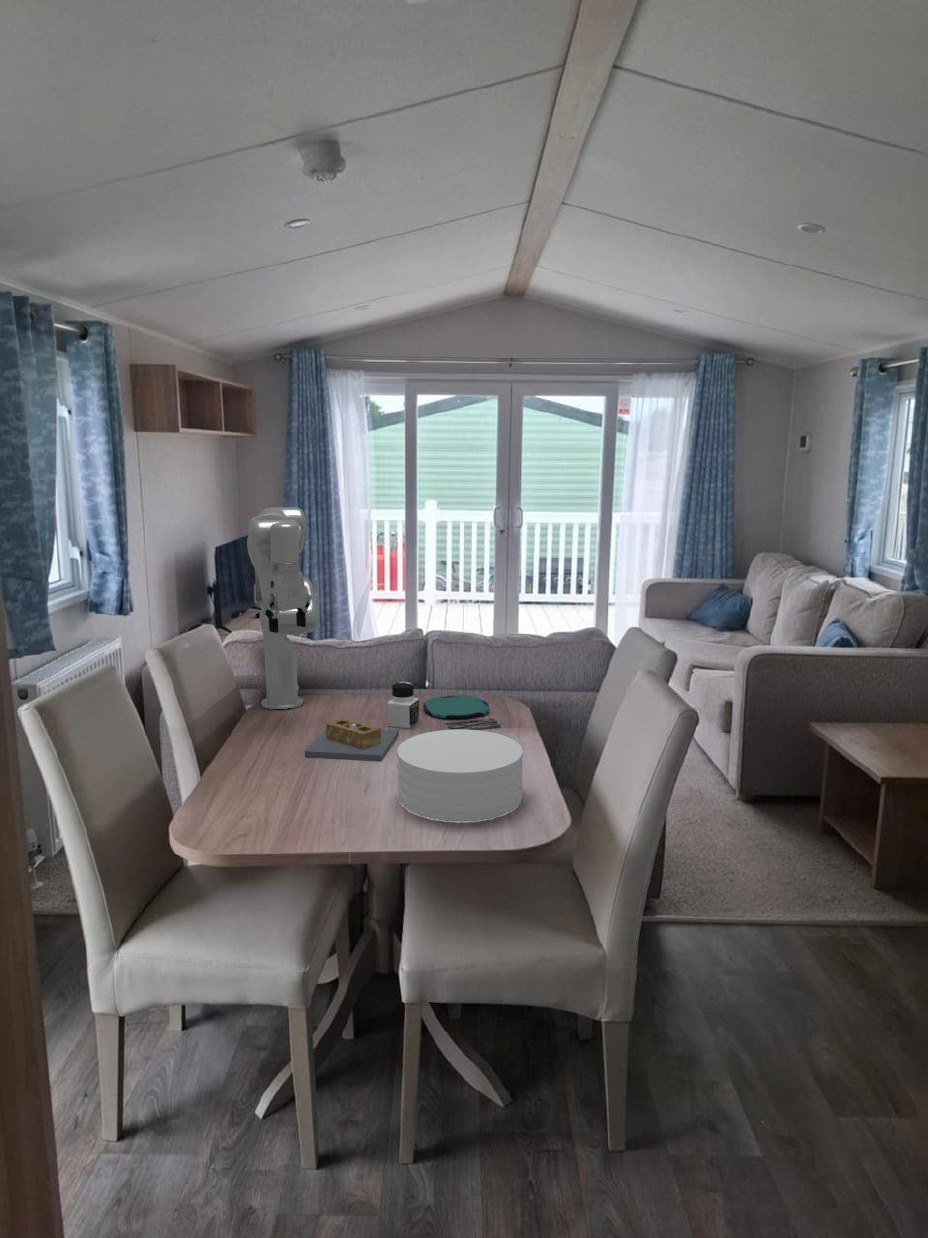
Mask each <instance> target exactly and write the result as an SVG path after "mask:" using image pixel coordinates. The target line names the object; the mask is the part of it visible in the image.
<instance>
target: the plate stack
mask: <svg viewBox="0 0 928 1238" xmlns="http://www.w3.org/2000/svg"><path fill="white" fill-rule="evenodd" d="M523 754H524V750H523V748H522V746H521V744H520V743H519V742H518V741H516V740H514V739H513V738H510V737H508V736H506V735H503V734H500V733H496V732H491V731H487V730H486V731H485V730H464V729H463V728H461V729H445V730H441V729H440V730H434V731H429V732H424V733H421V734H420V733H419V734H415V735H414V736H411V737H408V738H407V739H406V740H404V741H402V742H401V744H399V746H398V747H397V753H396V755H397V764H396V765H397V800H398V799H399V802H400V803H401V804H402V805H403V806H404V807H405V808H407V809H408V810H410V811H412V812H414V813H417V814H419V815H421V816H425V817H429V818H433V819H439V820H445V821H478V820H484V819H490V818H493V817H497V816H500V815H503V814H505V813H507V812H510V811H511V810H513V809H514V808H516V807H517V806H518V805H519V804H520V802H521V800H522V801H523V792H522V791H523V766H524V765H523V763H524V762H523ZM399 802H398V803H399ZM521 803H522V802H521ZM520 805H521V804H520Z"/></svg>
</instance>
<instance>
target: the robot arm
mask: <svg viewBox="0 0 928 1238" xmlns="http://www.w3.org/2000/svg"><path fill="white" fill-rule="evenodd" d="M306 519H307V518H306V515H305V513H304V511H303V510H302V509H301V508H299V507H295V506H288V507H287V506H285V507H283V506H282V507H281V506H280V507H279V506H278V507H277V506H276V507H275V506H274V507H273V506H272V507H267V508H264V509H262V510H261V511H260V512H259V514H258V515H257V516H256V515H255V516H253V517H251V519H250V520H249V522H248V525H247V526H248V527H247V533H248V537H247V541H246V546H247V553H248V557H249V559H250V562H251V564H252V566H253V567H254V569H255V571H256V573H257V575H258V580H259V589H260V594H261V599H262V602H261V603H260V605H259V606H260V608H261V610H260V612H259V622H260V627H261V631H262V639H263V648H264V649H263V651H264V653H263V654H264V669H265V671H264V672H265V691H266V692H265V693H266V694H265V696H266V697H265V698H264V699H262V700H261V704H260V705H261V707H263V708H265V709H267V708H268V710H273V709H284V710H289V709H288V708H291V709H296V708H298V707H300V706H301V707H302V705H303V704H304V698H303V697H301V696H299V694H298V691H299V689H300V686H299V684H298V668H297V665H298V664H297V662H298V661H297V660H298V659H297V647H296V645H295V644H294V642H293V641H292V640H291V639H290V638H289V637H288V635H293V634H295V635H296V634H306V633H307V634H308V633H312V632H315V631H317V629H318V628H319V625H320V624H319V623H320V616H319V615H320V614H319V610H318V605H317V599H316V595H315V590H314V585H313V583H312V581H311V580H310V579H309V578H308V577H305V576H304V575H303V572H302V571H300V569H301V568H300V553H301V552H303V549H304V545H305V538H306V537H305V536H306V532H307V530H306V529H307V520H306Z"/></svg>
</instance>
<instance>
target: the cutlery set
mask: <svg viewBox="0 0 928 1238" xmlns="http://www.w3.org/2000/svg"><path fill="white" fill-rule="evenodd" d="M422 703H423V706H422V707H423V710H424V711H426V712H427V713H428V714H431V715H432V716H433V717H434V718H439V719H445V718H456V719H458V718H460V719H461V718H469V717H474V716H478V715H481V714H483V715H484V716H487V715H488V714H489V712H490V706H489V703H488V702H487V701H485V700H484V699H481V698H480V697H477V696H471V695H465V694H464V695H447V696H440V697H439V696H438V697H437V696H436V697H431V698H429V699H426V701H423V702H422ZM481 721H482V722H481ZM468 723H470V724H468ZM488 724H490V725H488ZM491 724H492V725H491ZM445 725H448V727H447V728H450V729H452V730H456V729H464V730H479V731H482V730H489V729H500V728H501V729H502V724H500V723H498V720H496V719H495V718H494V717H492V718H488V719H487V718H486V719H485V718H483V719H482V718H481V719H476V718H474V719H469V720H458V721H457V720H456V721H448V722H445ZM479 725H487V726H481V727H476V726H479ZM473 726H475V727H473Z"/></svg>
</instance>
